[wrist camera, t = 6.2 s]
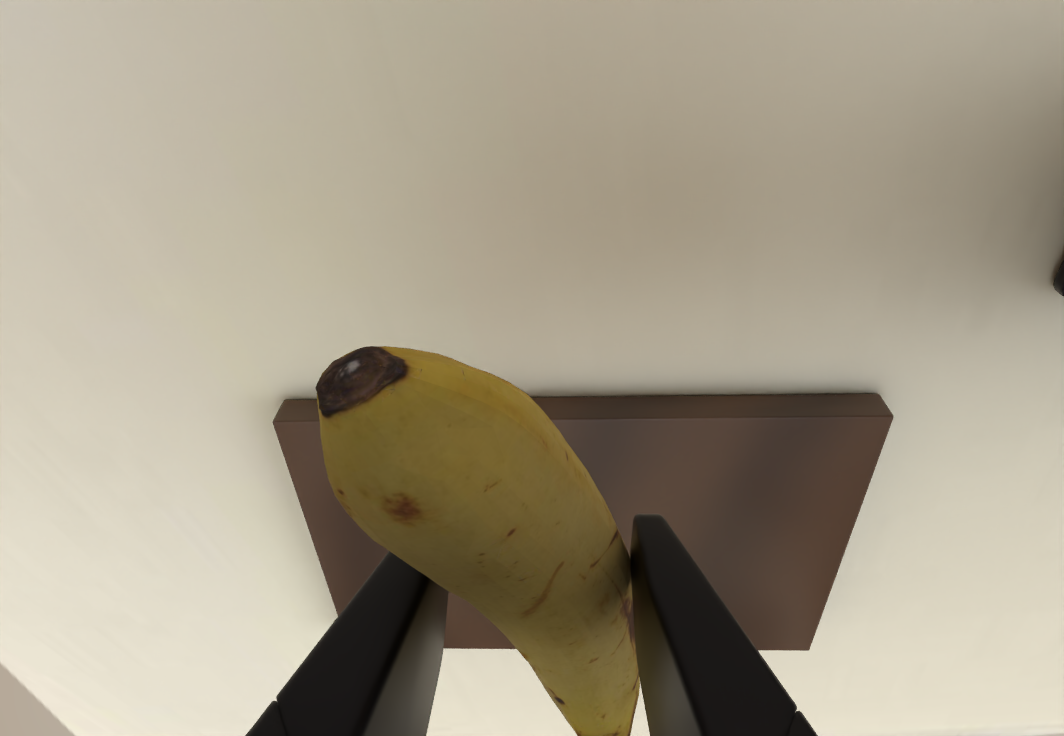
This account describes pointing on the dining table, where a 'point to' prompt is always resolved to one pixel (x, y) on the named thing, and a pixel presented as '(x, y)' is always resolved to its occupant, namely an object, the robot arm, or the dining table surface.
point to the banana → (489, 516)
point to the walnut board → (671, 496)
